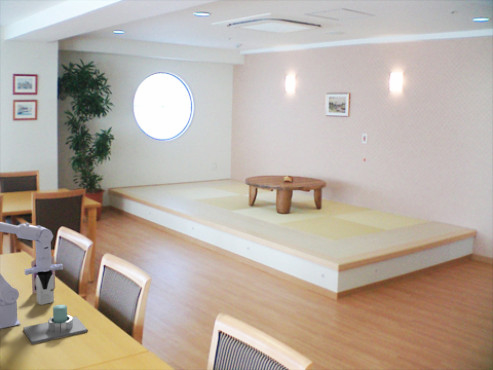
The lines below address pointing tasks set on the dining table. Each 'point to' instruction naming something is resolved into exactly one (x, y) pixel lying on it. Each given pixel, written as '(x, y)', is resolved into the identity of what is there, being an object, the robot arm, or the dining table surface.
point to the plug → (60, 313)
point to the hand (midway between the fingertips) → (44, 288)
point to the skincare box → (45, 291)
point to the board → (44, 334)
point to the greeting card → (33, 264)
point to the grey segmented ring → (60, 325)
